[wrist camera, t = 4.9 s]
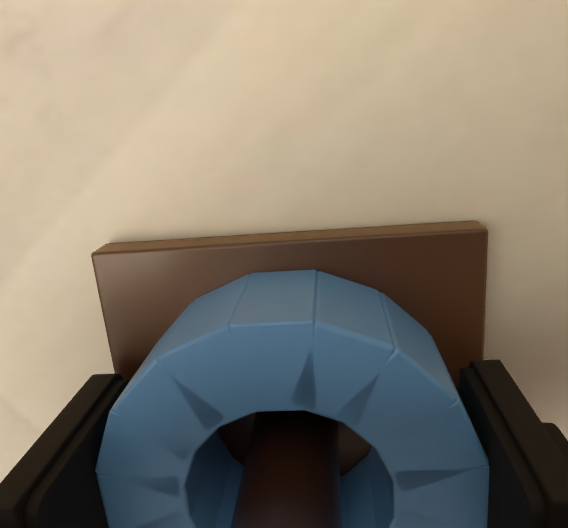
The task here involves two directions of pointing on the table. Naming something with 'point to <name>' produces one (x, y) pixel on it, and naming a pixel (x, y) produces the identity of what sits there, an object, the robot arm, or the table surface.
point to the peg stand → (288, 257)
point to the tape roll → (293, 407)
